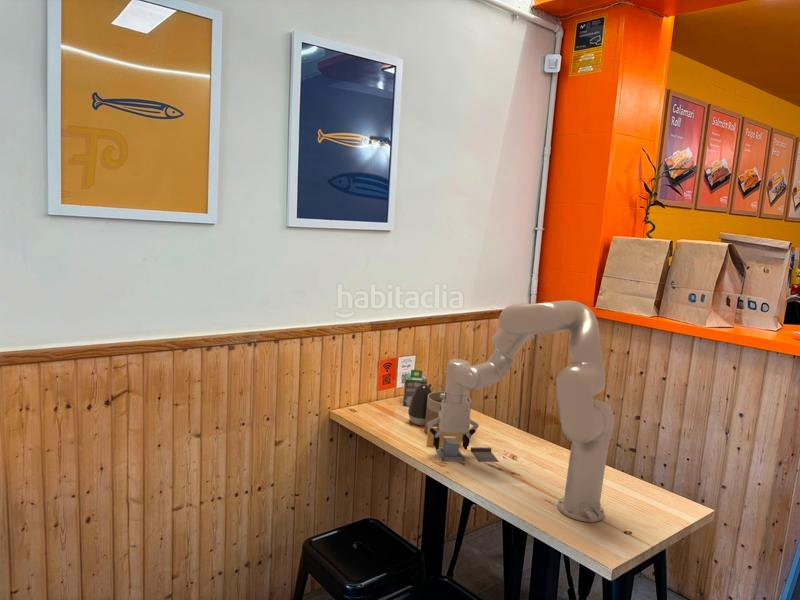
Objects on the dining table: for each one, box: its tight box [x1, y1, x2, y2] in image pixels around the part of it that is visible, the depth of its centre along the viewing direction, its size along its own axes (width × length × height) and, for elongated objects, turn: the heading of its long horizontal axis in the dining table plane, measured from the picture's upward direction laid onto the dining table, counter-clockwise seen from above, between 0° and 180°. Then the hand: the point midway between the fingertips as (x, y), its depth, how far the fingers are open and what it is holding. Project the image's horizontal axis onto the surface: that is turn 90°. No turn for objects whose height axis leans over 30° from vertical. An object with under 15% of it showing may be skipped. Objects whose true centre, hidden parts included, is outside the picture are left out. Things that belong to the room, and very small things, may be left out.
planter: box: [424, 390, 472, 441], centre depth 211 cm, size 16×16×14 cm
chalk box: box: [402, 369, 428, 407], centre depth 244 cm, size 9×9×15 cm
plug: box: [442, 436, 460, 457], centre depth 192 cm, size 5×4×6 cm
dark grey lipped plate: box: [470, 446, 499, 463], centre depth 194 cm, size 9×7×2 cm
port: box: [426, 427, 466, 462], centre depth 194 cm, size 13×12×7 cm
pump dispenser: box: [407, 383, 433, 427], centre depth 221 cm, size 10×10×15 cm
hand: (450, 447), depth 192 cm, fingers open, 9 cm apart
